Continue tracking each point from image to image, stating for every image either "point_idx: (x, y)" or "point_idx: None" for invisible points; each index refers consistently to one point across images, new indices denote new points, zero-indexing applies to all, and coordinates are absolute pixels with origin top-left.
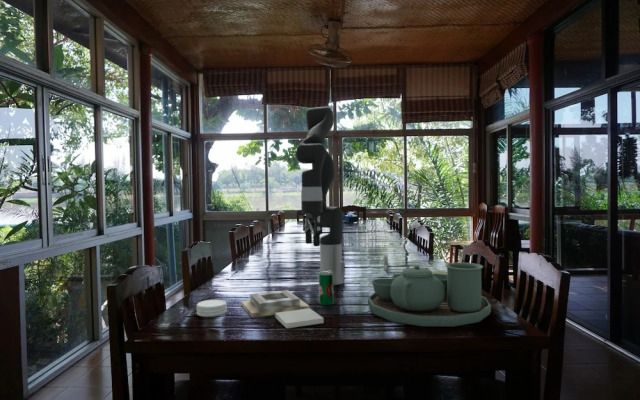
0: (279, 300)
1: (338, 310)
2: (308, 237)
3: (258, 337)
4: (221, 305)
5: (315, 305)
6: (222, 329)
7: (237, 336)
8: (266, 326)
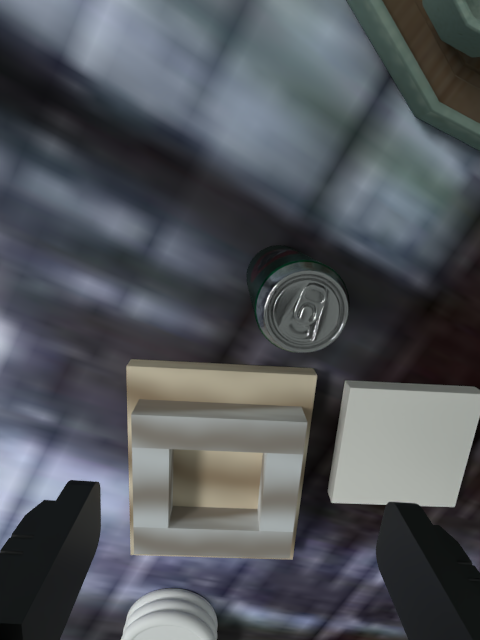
0: (286, 493)
1: (381, 273)
2: (64, 595)
3: None
4: (208, 635)
5: None
6: (346, 622)
7: None
8: None
